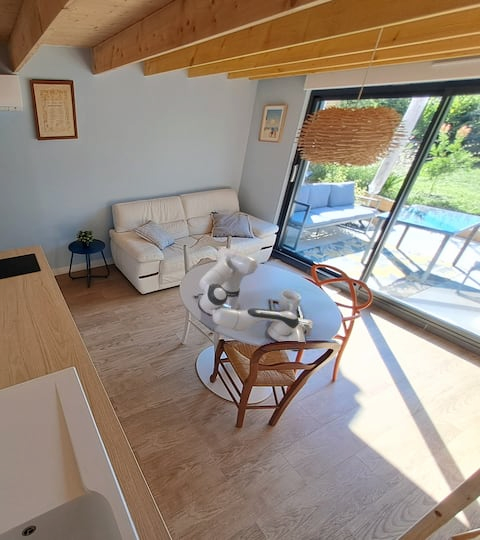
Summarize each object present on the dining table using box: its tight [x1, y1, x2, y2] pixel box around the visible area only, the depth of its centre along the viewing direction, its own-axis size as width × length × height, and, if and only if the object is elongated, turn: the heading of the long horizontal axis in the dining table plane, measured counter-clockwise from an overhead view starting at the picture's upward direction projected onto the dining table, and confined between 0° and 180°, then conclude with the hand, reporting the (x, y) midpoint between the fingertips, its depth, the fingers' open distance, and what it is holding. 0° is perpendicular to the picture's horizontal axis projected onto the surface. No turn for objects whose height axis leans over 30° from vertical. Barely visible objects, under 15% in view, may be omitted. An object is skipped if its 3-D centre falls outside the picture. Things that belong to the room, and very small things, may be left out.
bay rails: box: [269, 298, 304, 319], centre depth 184 cm, size 18×16×1 cm
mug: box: [277, 290, 302, 313], centre depth 177 cm, size 15×11×13 cm
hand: (290, 313), depth 171 cm, fingers closed, pressing on mug
